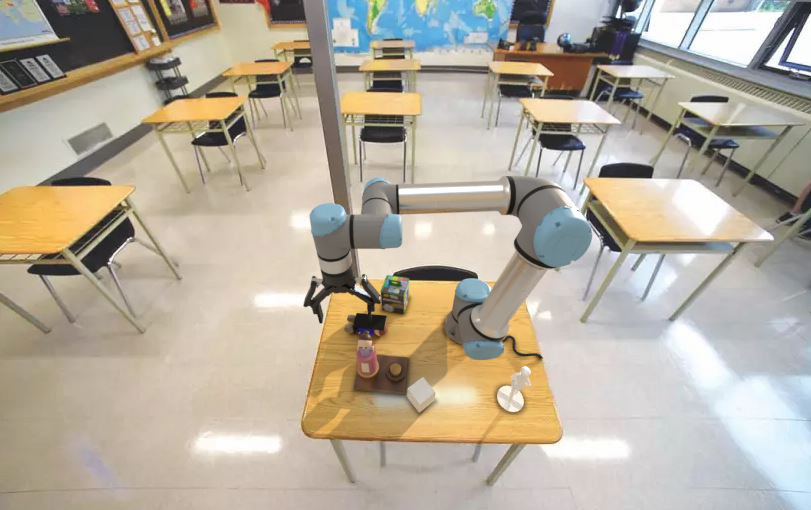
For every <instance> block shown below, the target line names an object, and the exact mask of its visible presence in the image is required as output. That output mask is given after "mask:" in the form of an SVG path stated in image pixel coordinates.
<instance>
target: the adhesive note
mask: <svg viewBox="0 0 811 510" xmlns="http://www.w3.org/2000/svg"><path fill="white" fill-rule="evenodd" d="M406 392H407V393H406V397H407V399H408V400H409V402H410V403H411V404H412V406H413V407H414V408H415V409H416V412H418V413H421V412H422V411H424V410H425V409H426V408H427V407H429V406H430V405H431V404H432V403H434V401H435V398H436V390H435V389H433V387H432V386H431V384H429V383H428V381H427V380H426V379H425V378H424V377H423V376H422V377H421V378H419V379H418V380H417V381H415V382H414V383H413V384H411V385H410V386H409V387H408V388H407V391H406Z"/></svg>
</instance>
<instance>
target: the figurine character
mask: <svg viewBox="0 0 811 510" xmlns="http://www.w3.org/2000/svg"><path fill="white" fill-rule="evenodd" d="M387 318H388V315H385V314H373V313H371V321H369V320H368V313H361V312H356V313H355V315H354V314H348V315H347V317H346V321H347V322H348V323H351V324H345V325H344V327H343V331H344V332H346V333H349V334H353V335H362V334H363V332H364V331H369V333H370V334H369V335H370V336H373V335H374V334H375V335H376V336H377V337H383V336H385V335H386V334H387V332H388V325H387V324H386V323H387Z"/></svg>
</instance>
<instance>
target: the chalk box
mask: <svg viewBox="0 0 811 510" xmlns="http://www.w3.org/2000/svg"><path fill="white" fill-rule="evenodd" d="M380 295H381V310H382V311H385V312H390V313H395V314H400V315H405V312H406V310H407V306H408V303H409V298H410V278H409V277H405V276H397V275H391V274H387V275H386V276H385V278H384V281H383V284H382V286H381V288H380Z"/></svg>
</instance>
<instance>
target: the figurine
mask: <svg viewBox="0 0 811 510" xmlns="http://www.w3.org/2000/svg"><path fill="white" fill-rule="evenodd" d="M531 373H532V371H531V369H530V368H529V367H528V366H522V367H521V368H520V369H519V372H515V373H514V374H512V375H511V376H510V379H511V382H510V385H503V386H501V387H500V388H499V389H498V390H497V393H496V400H497V402H498V404H499V405H500V407H501V408H502V409H503V410H505V411H507V412H509V413H517V412H519V411H521V410H522V408H523V407H524V404H525V401H524V397H523V394H522V393H521V391H523V390H524V389H525V386H526V387H529V388H530V387H531V386H532V384H531V380H530V378H529V377H530V376H531Z"/></svg>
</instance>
